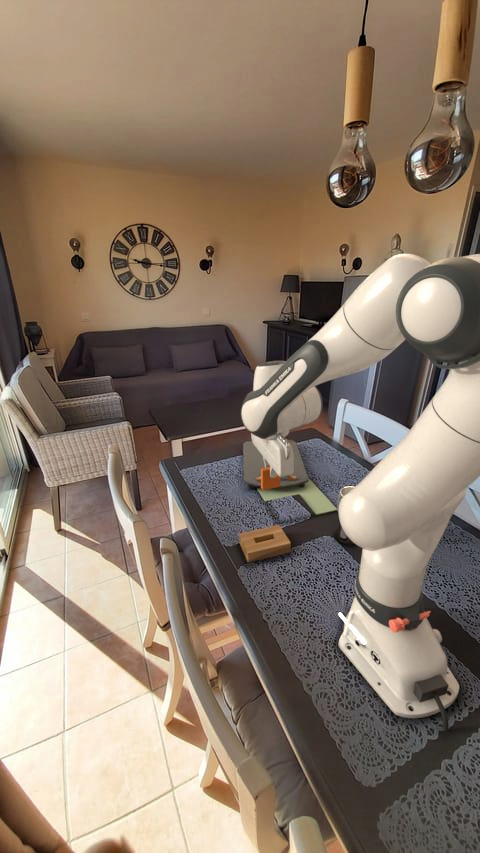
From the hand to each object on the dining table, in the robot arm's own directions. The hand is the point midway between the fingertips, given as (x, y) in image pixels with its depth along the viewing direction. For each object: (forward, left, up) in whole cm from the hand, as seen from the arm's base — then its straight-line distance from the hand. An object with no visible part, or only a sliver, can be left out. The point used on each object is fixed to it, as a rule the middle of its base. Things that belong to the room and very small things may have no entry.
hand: (270, 473), depth 95 cm
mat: (+15, -15, -21) cm, 30 cm away
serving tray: (+38, -16, -21) cm, 46 cm away
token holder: (-4, +3, -21) cm, 22 cm away
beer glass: (-7, -21, -22) cm, 31 cm away
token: (0, 0, -4) cm, 4 cm away
